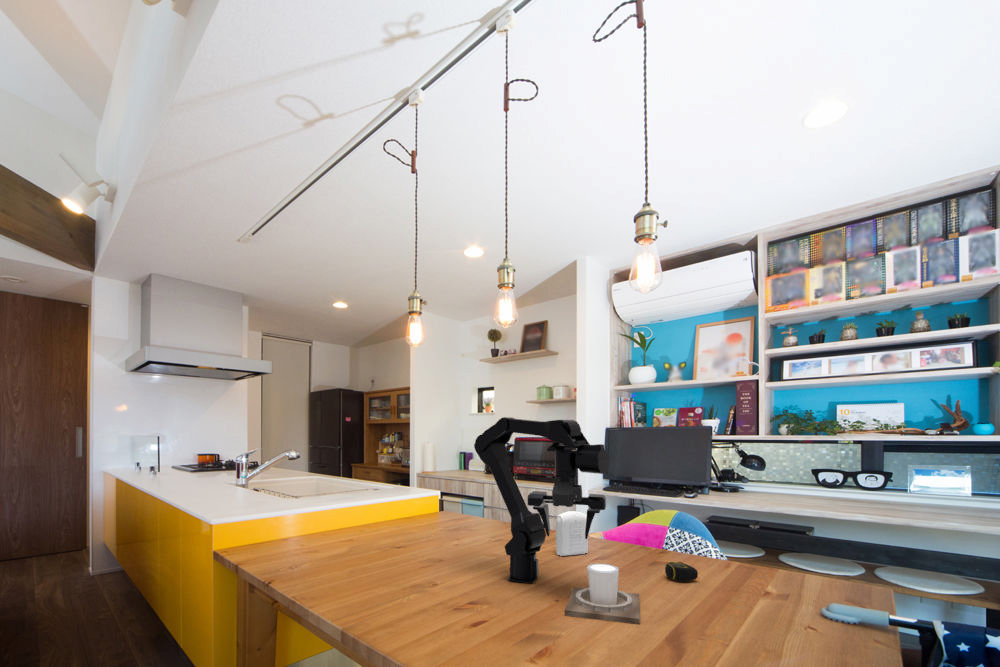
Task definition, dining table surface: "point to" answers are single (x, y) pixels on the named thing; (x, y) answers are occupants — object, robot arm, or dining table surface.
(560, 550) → the white rounded block
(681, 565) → the tape measure
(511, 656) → the dining table surface
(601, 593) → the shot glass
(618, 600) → the ring holder
